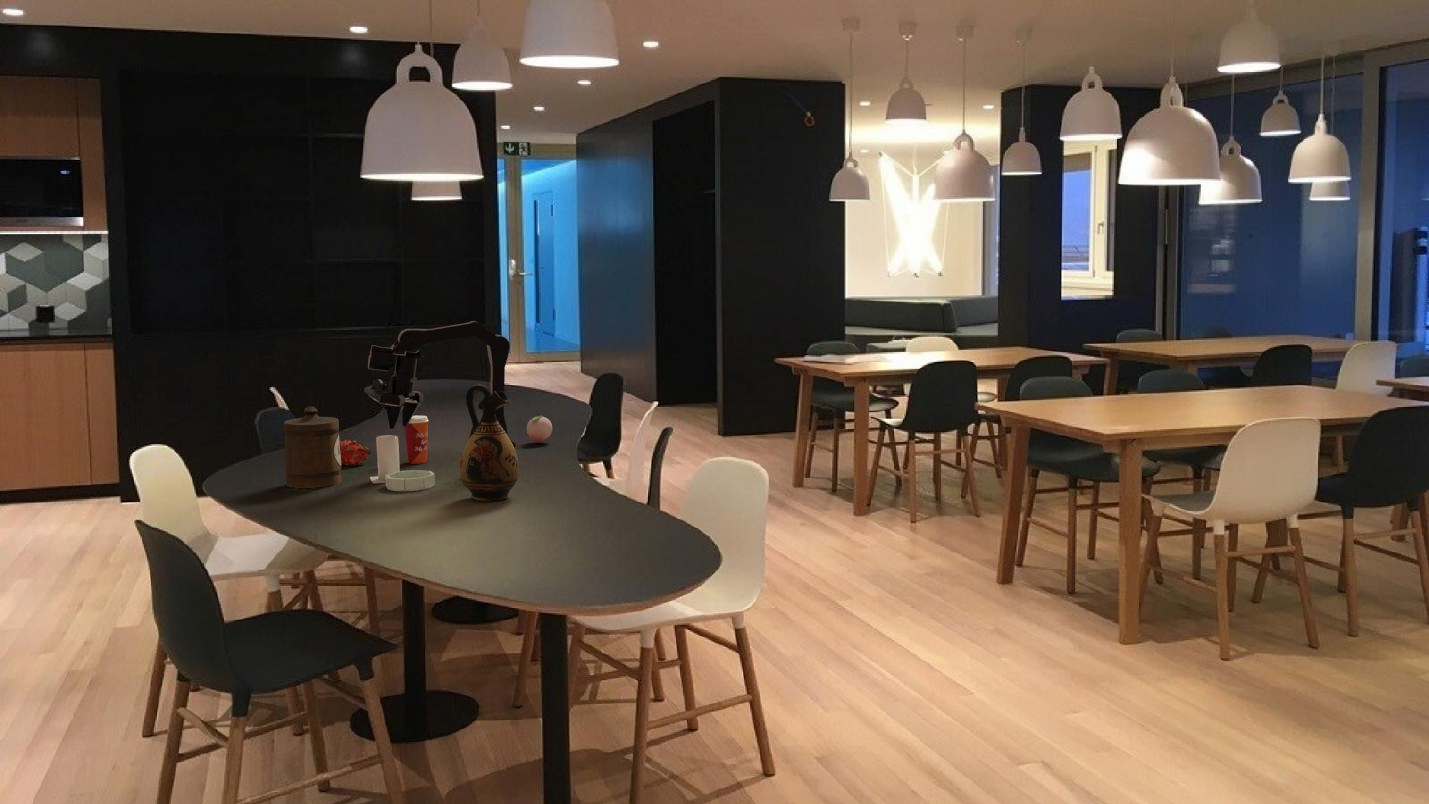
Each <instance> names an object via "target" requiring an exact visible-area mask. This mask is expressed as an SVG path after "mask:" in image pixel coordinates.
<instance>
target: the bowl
mask: <svg viewBox="0 0 1429 804" xmlns="http://www.w3.org/2000/svg"><path fill="white" fill-rule="evenodd" d="M434 486H436V475H435V472H433V471H432V470H422V469H421V470H419V469H411V470H409V469H408V470H400V471H398V472H394V473H390V474H387V475H385V487H386V489H387V490H389V491H395V492H415V491H421V490H422V491H423V490H428V489H431V488H433V487H434Z"/></svg>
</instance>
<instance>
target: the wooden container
mask: <svg viewBox="0 0 1429 804" xmlns="http://www.w3.org/2000/svg"><path fill="white" fill-rule="evenodd" d="M303 412H304V414H305V415H304V416H303V417H299V418H292V419H288V420H285V421H284V422H283V429H284V433H283V434H284V462H285V463H284V464H285V480H286V481H285V482H286V486H287V485H288V486H290V487H296V488H295V489H298V488H311V489H317V488H316V487H322V488H327V487H326V486H329V487H332V486H331V485H334V486H337V485H340V484H341V483H342V482H343V479H342V465H341V455H340V442H339V441H340V432H339V430H340V425H339V424H340V423H339V419H338V418H337V417H331V416H330V417H329V416H320V415H318V414H317V413H318V409H317V408H316V407H315V406H307V407H305V408H304V411H303ZM290 487H289V488H290Z"/></svg>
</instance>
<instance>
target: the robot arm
mask: <svg viewBox="0 0 1429 804" xmlns="http://www.w3.org/2000/svg"><path fill="white" fill-rule="evenodd" d="M470 336H471V337H472V336H474V337H475V338H476V339H478V340H479V341H480V342H482V343H483V344H485V345H486V349H487V355H488V360H489V364H490V388H489V389H490V390H491V393H493V392H494V391H496V393H498V392H500V391H503V392H504V393H505V380H506V379H505V378H506V377H505V375H506V365H507V362H508V359H509V354H510V349H511V344H510V341H509V340H508V338H506V336H502V335H500V334H495V333H493V332H492V331H490V330H488V329H487V328H485V327H484V326H483V325H482V324H481V323H480V322H478V321H476V320H471V321H469V322H465V323H459V324H453V325H448V326H440V327H435V328H405V329H402V330H401V331H400V332H399V334H398V336H397V340H396V341H395V342H394V343H393V344H392V345H391V346H390V347H383V346H378V345H373V344H372V345H371V347H370V352H369V355H368V359H367V360H368V362H367V369H368V370H373V371H383V372H389V370H391V369H393V368H394V374H393V375H391V376H390V379H389V380H386V381H383V380H382V379H379V378H378V379H374V380H373V381H372V384H371V387H370V389H371V390H372V391H373V394H374V396H376V395H378V396H379V397H378V403H380V406H382V407H383V409H385V410H386V413H387V414H386V415H387V419H388V424H389V429H390V430H394V429H395V428H396V426H397V423H398V421H399V419H400V416H402V417H401V418H402V420H401V421H402V427H404V426H405V427H406V426H407V425H408V423H409V421H410V420H411V418H412V417H413V416H415V414H416V412H417V410H418V409H419V407H420V406H421V405H422V403H424V397H425V395H424V394H423V392H422V391H417V390H416V391H415V390H414V388H415V383H416V382H418V377H416V370H417V363H418V360H425V357H424V356H423V355H422V353H421V351H420V350H419V349H420V348H422V347H425V346H427V345H430V344H433V343H437V342H442V341H449V340H453V339H454V340H455V339H460V338H464V337H470ZM416 349H418V350H416ZM414 350H416V352H413V351H414ZM404 351H405V352H404ZM402 352H404V354H401V353H402ZM395 357H396V358H395ZM394 363H395V367H394ZM401 414H402V415H401ZM495 414H496V419H497V421H498V423H499V424H500V425H501V427H502V428H503V430H504V431H505V432H506V434H507V436H508V437H509V433H508V427H507V426H508V425H507V421H506V418H505V417H506V416H505V406H502V407H500V408H498V409H497V410H496V413H495ZM510 441H511V442H512V444H513V446H514V448H515V451H516V452H517V450H516V446H517V445H516V443H515V442H514V441H513V440H512V439H510Z"/></svg>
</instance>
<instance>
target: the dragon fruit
mask: <svg viewBox="0 0 1429 804" xmlns="http://www.w3.org/2000/svg"><path fill="white" fill-rule="evenodd" d="M339 442H340V455H341V467H343V465H344V466H349V465H350V466H351V465H352V466H362V465H363V464H364V462H363V461H365V460H368V456H369V455H371V454H372V451H371V449H370V448H368V447H366V446H362V445H361V444H360V443H359V442H357V440H356V439H355V440H353V441H351V440H349V439H348V440H347V439H345V440H344V441H341V440H339ZM361 461H362V462H361Z"/></svg>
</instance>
